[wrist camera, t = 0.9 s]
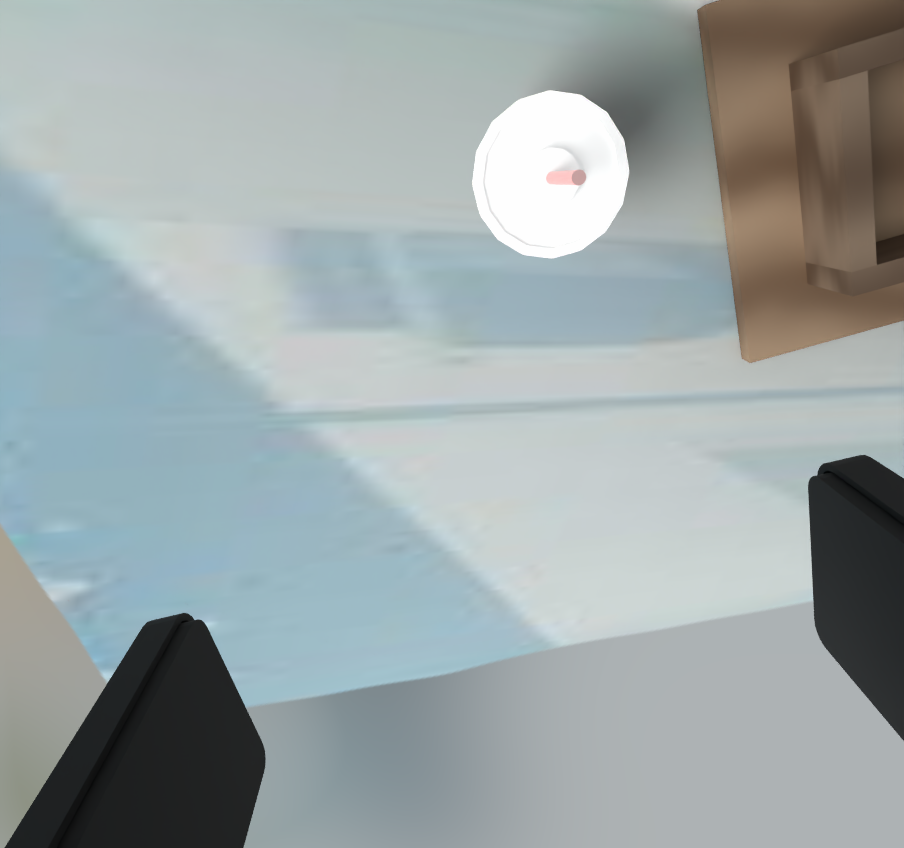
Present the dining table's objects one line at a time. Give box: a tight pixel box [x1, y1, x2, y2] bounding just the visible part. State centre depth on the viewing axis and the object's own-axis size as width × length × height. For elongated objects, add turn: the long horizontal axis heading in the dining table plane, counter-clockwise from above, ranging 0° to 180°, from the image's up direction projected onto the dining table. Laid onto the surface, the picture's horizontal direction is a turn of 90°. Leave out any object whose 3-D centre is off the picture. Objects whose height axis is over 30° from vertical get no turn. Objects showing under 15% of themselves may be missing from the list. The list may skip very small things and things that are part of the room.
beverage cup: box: [472, 90, 629, 259], centre depth 27 cm, size 6×6×14 cm
